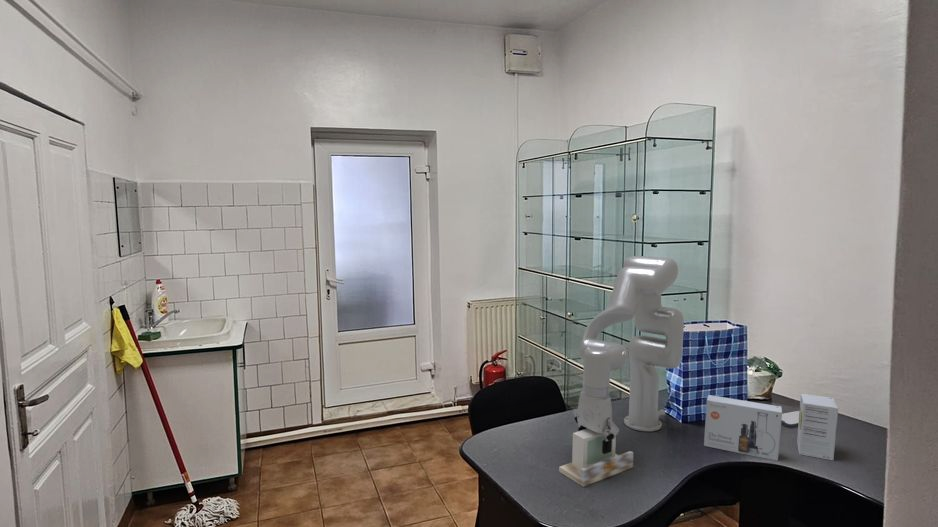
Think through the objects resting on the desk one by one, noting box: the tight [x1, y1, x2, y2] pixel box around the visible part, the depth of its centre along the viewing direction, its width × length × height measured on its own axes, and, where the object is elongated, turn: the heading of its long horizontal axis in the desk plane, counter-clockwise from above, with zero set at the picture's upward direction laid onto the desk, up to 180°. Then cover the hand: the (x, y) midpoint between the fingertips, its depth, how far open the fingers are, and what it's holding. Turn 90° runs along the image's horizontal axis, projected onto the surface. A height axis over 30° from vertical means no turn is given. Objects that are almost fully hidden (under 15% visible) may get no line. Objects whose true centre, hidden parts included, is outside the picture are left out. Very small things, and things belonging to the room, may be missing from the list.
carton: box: [571, 428, 617, 471], centre depth 163 cm, size 5×13×10 cm, turn 123°
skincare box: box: [703, 394, 783, 462], centre depth 174 cm, size 21×6×16 cm, turn 62°
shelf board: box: [558, 450, 634, 487], centre depth 163 cm, size 20×10×5 cm, turn 123°
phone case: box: [781, 410, 800, 429], centre depth 198 cm, size 9×2×16 cm
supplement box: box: [796, 393, 839, 461], centre depth 173 cm, size 10×9×17 cm
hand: (594, 446), depth 163 cm, fingers open, 9 cm apart
